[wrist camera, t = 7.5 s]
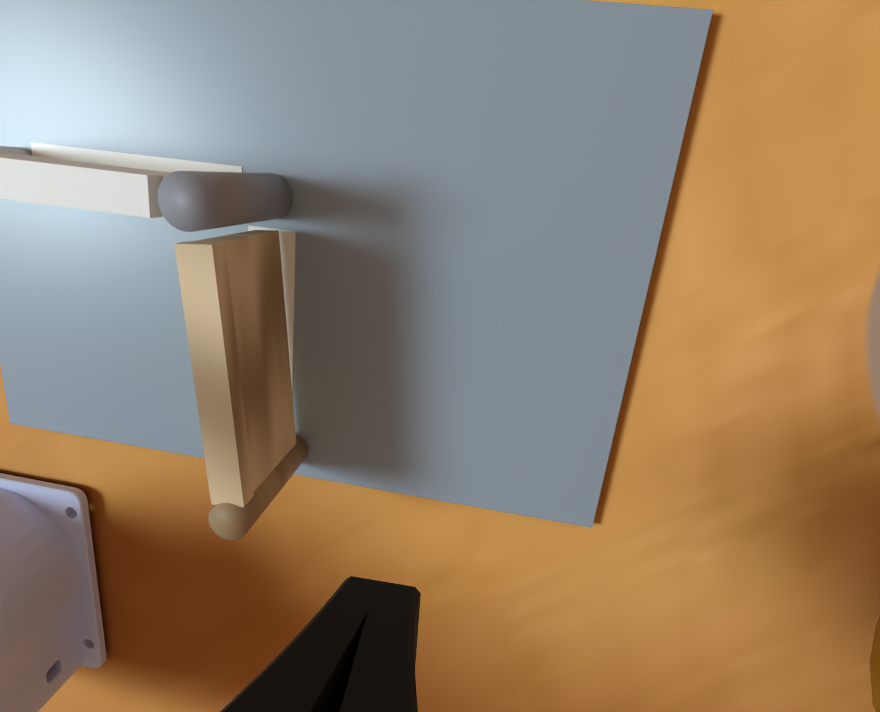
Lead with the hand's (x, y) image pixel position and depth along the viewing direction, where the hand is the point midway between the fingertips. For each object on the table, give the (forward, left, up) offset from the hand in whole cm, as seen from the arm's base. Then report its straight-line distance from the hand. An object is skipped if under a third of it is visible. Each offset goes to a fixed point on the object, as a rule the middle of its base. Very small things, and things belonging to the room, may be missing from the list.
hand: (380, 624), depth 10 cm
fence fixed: (+7, +11, -9) cm, 16 cm away
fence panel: (+1, +6, -9) cm, 11 cm away
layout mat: (+5, +6, -10) cm, 12 cm away
